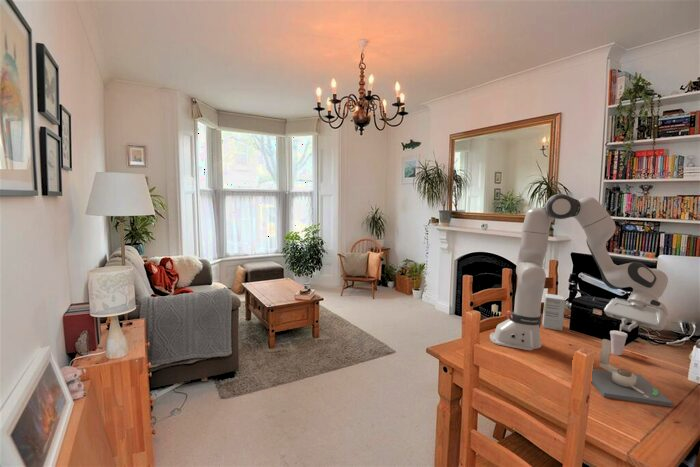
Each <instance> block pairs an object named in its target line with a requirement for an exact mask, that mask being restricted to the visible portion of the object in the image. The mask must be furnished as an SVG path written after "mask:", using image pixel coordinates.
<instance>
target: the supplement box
mask: <svg viewBox="0 0 700 467" xmlns="http://www.w3.org/2000/svg"><path fill="white" fill-rule="evenodd" d="M543 302H544V303H543V311H542V320H541V323H542V328H544V329H549V330H556V331H563V328H564V318H565V308H566V299H565V296H564V295H559V294H554V293H553V294H552V293H551V294H550V293H544V300H543Z"/></svg>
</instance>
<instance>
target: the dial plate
mask: <svg viewBox="0 0 700 467" xmlns="http://www.w3.org/2000/svg"><path fill="white" fill-rule="evenodd" d="M592 369H593V371H592V383H591V384H592V385H593V386H594V388H596V390H597V391H598V392H599V393H600V395H601V396H602V397H603V398H607V399H615V400H620V401H626V402H627V401H629V402H635V403H643V404H648V405H654V406H655V405H656V406H663V407H671V408H673V405H674V402H673V401H672V400H670V399H669V398H668V397H667V396H666V395H664V394H663V392H662V391H660V390H659V389H658V388H657V387H656V386H654V385H653V384H652V383H651V382H649V381H648V380H647V379H646V378H645V377H644V376H642V375H641V374H637V373H633V374H634V375H635V376H636V377H637V378H636V386H635V387H636V388H637V389H639V390H641V391H642V392H644V394H642V393H640V392H639V391H637V390H635V389H633V388H630V387H624V386H621V385H618V384H616V383H614V382H613V381H612V373H611V372H610V371H608V370H606V369H600V368H599V369H598V368H592Z"/></svg>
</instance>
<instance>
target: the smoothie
mask: <svg viewBox="0 0 700 467" xmlns="http://www.w3.org/2000/svg"><path fill="white" fill-rule="evenodd" d="M621 325H622V322H621V323H620V324H619V330H614V329H613V330H610V331H609V334H610V341H611V349H610V354H612V355H614V354H615V355H614V356H619V355H621V356H622V355H623V352H624V348H625V344H626V340H627V338H628V333H626V332H624V331H622V329H621Z"/></svg>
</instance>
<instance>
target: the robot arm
mask: <svg viewBox="0 0 700 467" xmlns="http://www.w3.org/2000/svg"><path fill="white" fill-rule="evenodd" d="M569 218H573V219H574V220H576V221H577V222H578V223H579V225H580V226H581V228H582V230H583V231H584V233H585V235H586V245H587V247H588V249H589V252H590V254H591V256H592V258H593V260H594V261H595V263H596V266H597V268H598V270H599V272H600V275H601V279H602V281H603V284H604V285H606V286H607V287H608V288H610V289H613V290H621V289H624V288H632V292H631V293H630V295H629V296H628V298H627V299H625V298H621V297H615V298H611V299H610V301H609V302H608V303H607V304H606V305H605V307H604V308H603V311H604V313H605V315H606V316H607V317H610V318H613V319H617V320H621V323H622V325H621V331H622V330H623V331H626V332H630V333H631V331H632V330H633V329H635V328H637V327H638V326H642V327H645V328H649V329H651V330H655V331H662V330H664V328H665V327H666V325H667V323H668V322H667V321H668V318H667V317H668V316H669V311H668V309H667V306H666V305H665V303H663V302H660V301H659V299H660V298H661V297H662V296H663V294H664V293H665V290H666V289H667V287H668V283H669V279H668V275H667V274H666V273H665V272H663V271H662V270H660V269H658V268H650V267H648V266H646V265H645V264H644V263H642V262H639V261H634V262H629V263H623V264H619V265H617V264H615V263H614V261H613V259H612V258H611V255H610V253H609V251H608V249H607V246H606V245H607V242H608V241H609V240H610V239H611V238H612V237H614V234H615V232H616V228H617V227H616V223H615V220H614V219H613V218H612V216H611V215H610V214H609V212H608V211H607V209H606V208H605V207H604V205H602V204H601V203H600V202H599V201H598V200H597V199H596V198H594V197H592V196H585V197H581V198H580V199H576V198H574V197H572V196H569V195H567V194H563V193H556V194H554V195H551V196H550V197H549V198H548V199H547V200H546V201H545V203H544V204H543V205H542V206H541V207H533V208H530V209H528V210H527V211H526V214H525V216H524V221H523V224H522V229H521V237H520V246H519V250H518V256H517V261H516V268H515V274H516V276H517V284H516V285H517V286H516V290H515V291H516V292H515V296H514V305H513V306H514V308H513V309H514V310H513V311H511V310H507V311H506V314H507V315H508V319H506V320H503V321H502V322H500V323H498V324H497V325H496V328H495V330H494V332H490V334H489V340H490V341H491V343H493V344H495V345H498V346H504V347H508V348H513V349H514V348H515V349H520V350H523V351H524V350H526V351H533V350H535V349H537V350H538V349H540V348H541V347H542V340H541V333H540V328H541V323H542V315H541V310H542V309H541V308H542V299H543V294H544V289H545V286H546V277H547V274H546V271H545V269H544V268H543V265H544V261H545V258H546V253H547V252H548V243H549V236H550V227H551V223H552V222H553V221H554V220H565V219H569ZM628 323H631V324H629V325H628Z"/></svg>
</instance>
